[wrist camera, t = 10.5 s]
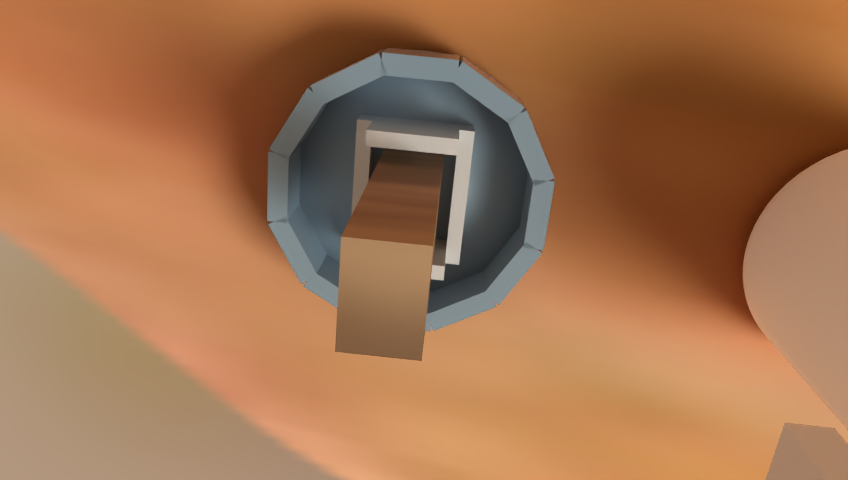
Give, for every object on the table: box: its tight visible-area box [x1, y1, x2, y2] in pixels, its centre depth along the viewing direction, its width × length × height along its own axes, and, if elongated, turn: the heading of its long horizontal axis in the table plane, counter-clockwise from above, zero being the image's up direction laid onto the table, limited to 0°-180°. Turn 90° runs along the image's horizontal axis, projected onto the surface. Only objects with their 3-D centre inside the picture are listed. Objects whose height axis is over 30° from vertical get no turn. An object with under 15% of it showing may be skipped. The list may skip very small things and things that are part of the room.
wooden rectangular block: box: [335, 148, 444, 361], centre depth 23 cm, size 3×2×11 cm
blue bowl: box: [267, 48, 555, 331], centre depth 27 cm, size 11×11×4 cm
